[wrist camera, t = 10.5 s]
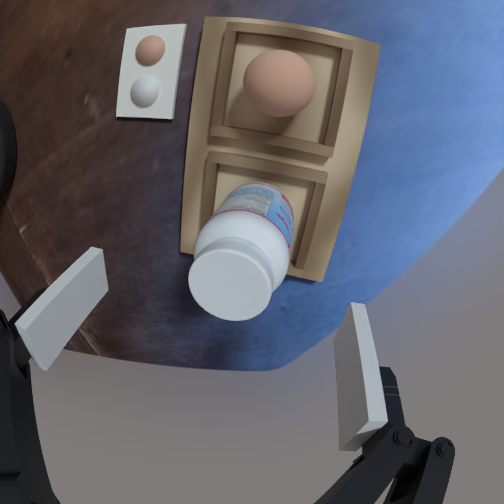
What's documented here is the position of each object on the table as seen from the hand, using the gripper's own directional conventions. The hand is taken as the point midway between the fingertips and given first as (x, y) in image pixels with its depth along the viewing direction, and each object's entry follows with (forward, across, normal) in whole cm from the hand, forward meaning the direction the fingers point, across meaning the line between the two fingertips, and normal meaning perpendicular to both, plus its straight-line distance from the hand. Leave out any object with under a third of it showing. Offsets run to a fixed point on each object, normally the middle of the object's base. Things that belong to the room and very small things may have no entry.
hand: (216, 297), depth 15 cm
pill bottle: (+13, +1, 0) cm, 13 cm away
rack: (+14, +1, +5) cm, 15 cm away
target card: (+14, -11, +11) cm, 21 cm away
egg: (+12, +1, +11) cm, 16 cm away
